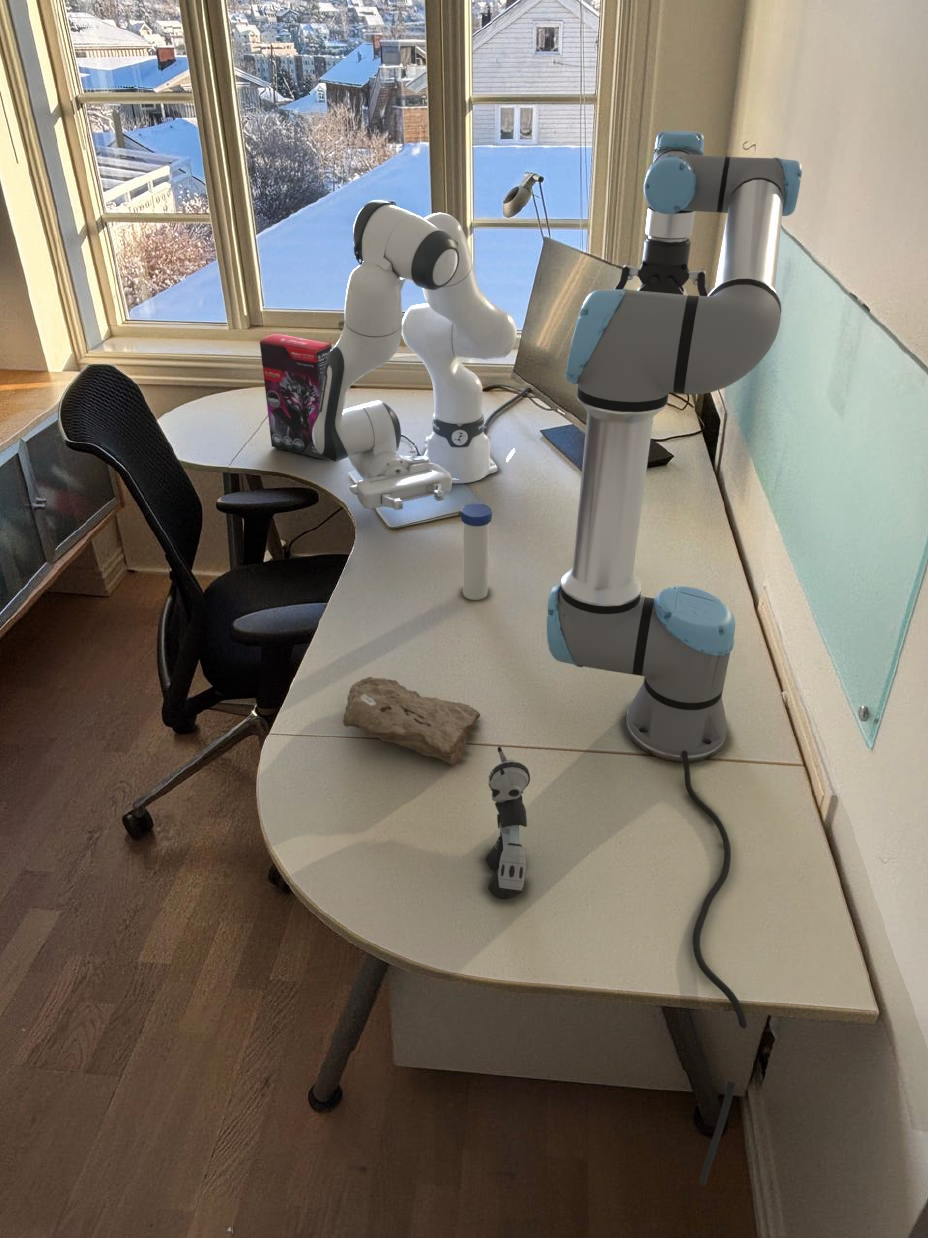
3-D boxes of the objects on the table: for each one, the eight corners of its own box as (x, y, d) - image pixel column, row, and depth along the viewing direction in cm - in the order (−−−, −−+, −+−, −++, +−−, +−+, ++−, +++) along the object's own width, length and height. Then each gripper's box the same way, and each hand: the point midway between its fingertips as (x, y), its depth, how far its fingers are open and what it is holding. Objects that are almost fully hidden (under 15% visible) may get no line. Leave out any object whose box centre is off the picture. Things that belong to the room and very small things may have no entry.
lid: (458, 524, 165) (458, 515, 164) (464, 510, 170) (464, 501, 169) (488, 527, 164) (489, 518, 163) (494, 513, 169) (494, 504, 168)
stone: (316, 734, 137) (323, 699, 134) (354, 694, 150) (361, 661, 148) (449, 783, 133) (458, 749, 131) (475, 737, 146) (484, 705, 144)
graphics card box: (269, 447, 232) (256, 339, 216) (286, 438, 237) (274, 331, 221) (325, 461, 225) (316, 350, 210) (341, 451, 230) (333, 342, 215)
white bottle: (460, 598, 174) (461, 516, 165) (465, 585, 178) (466, 505, 168) (485, 601, 174) (487, 519, 164) (489, 588, 177) (491, 507, 168)
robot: (531, 936, 111) (540, 818, 100) (491, 937, 111) (496, 820, 100) (516, 817, 127) (522, 704, 116) (481, 818, 127) (484, 705, 116)
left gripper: (345, 472, 191) (373, 497, 181) (433, 454, 199) (464, 478, 189) (347, 499, 194) (374, 526, 184) (433, 481, 203) (463, 505, 193)
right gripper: (746, 237, 151) (725, 364, 163) (595, 227, 157) (585, 351, 169) (746, 247, 145) (723, 378, 157) (589, 236, 151) (579, 364, 163)
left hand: (420, 501), depth 187 cm, fingers open, 8 cm apart
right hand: (652, 364), depth 163 cm, fingers open, 13 cm apart
